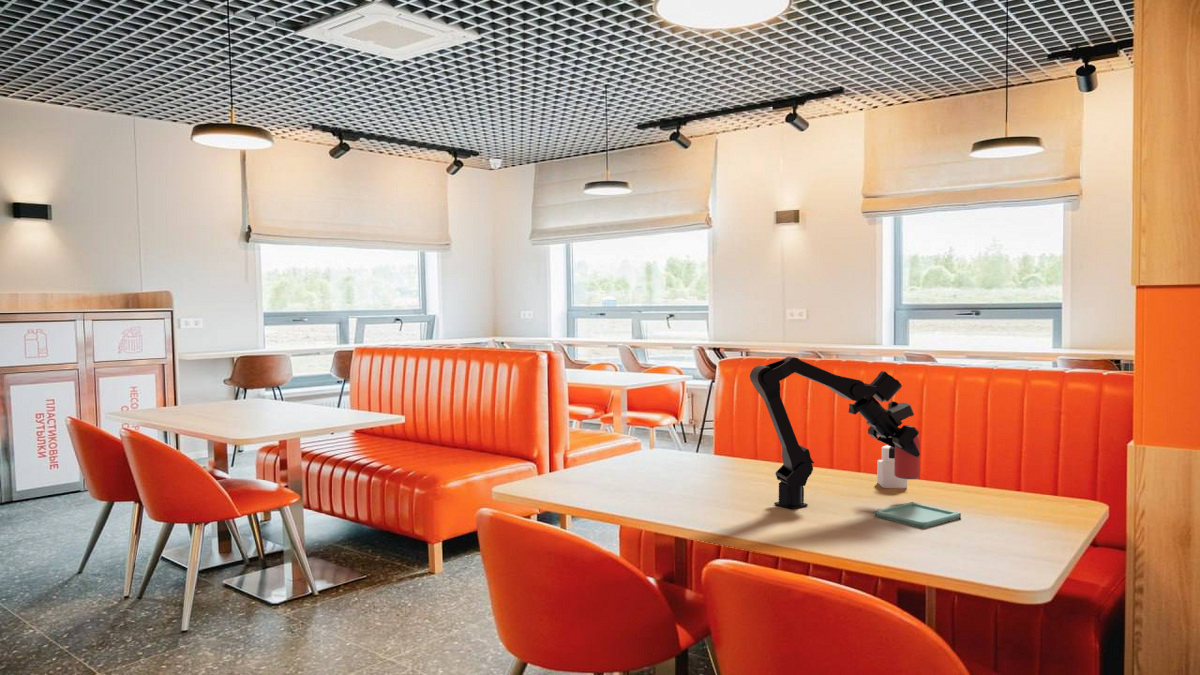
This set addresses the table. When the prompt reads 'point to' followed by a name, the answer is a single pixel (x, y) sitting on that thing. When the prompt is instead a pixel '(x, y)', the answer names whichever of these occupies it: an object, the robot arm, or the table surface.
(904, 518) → the tray
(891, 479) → the medicine bottle
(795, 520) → the table surface
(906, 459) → the beer can
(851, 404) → the robot arm
